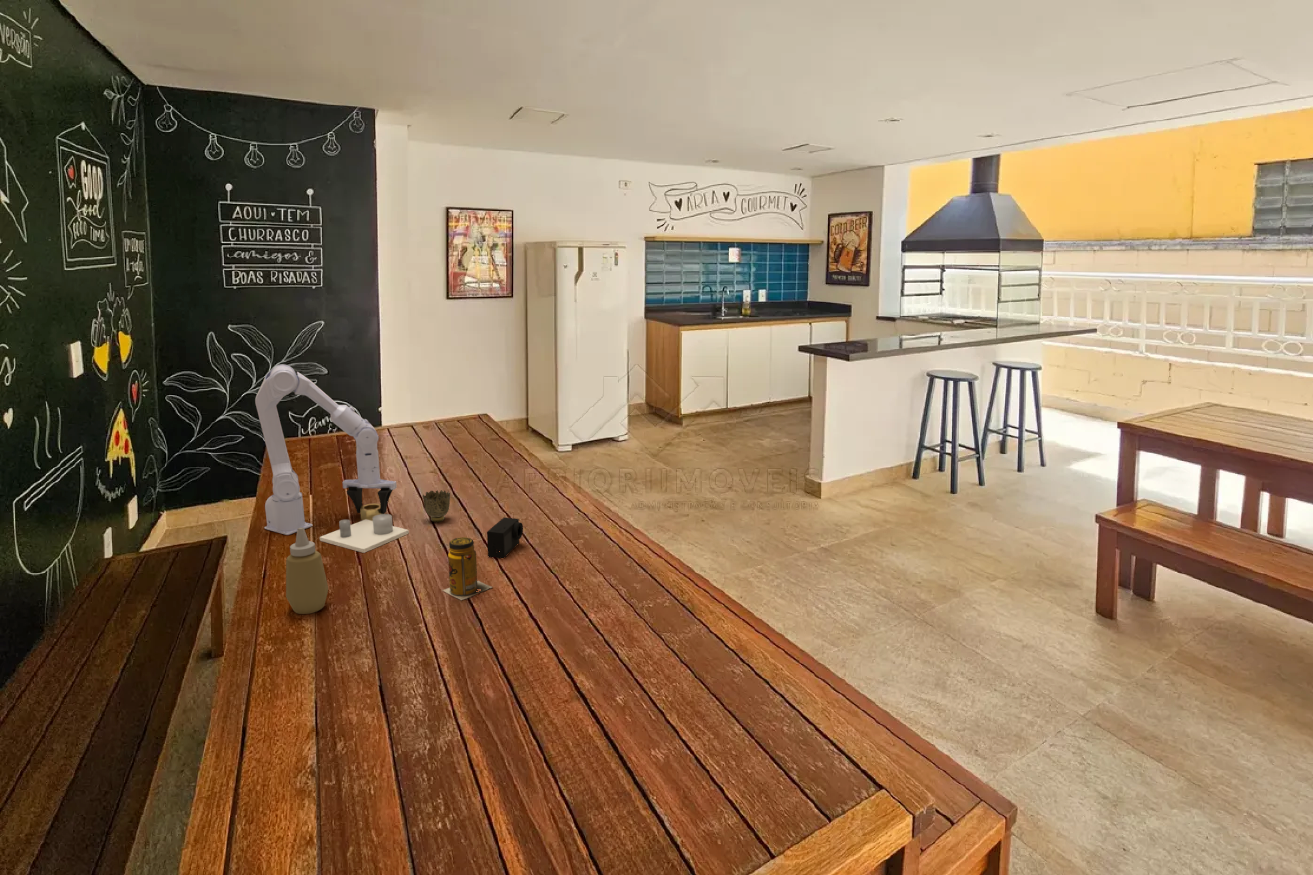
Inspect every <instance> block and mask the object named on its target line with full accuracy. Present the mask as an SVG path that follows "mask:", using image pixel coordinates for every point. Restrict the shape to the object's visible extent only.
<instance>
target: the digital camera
mask: <svg viewBox="0 0 1313 875" xmlns="http://www.w3.org/2000/svg"><path fill="white" fill-rule="evenodd" d="M519 521H520V519H519V518H513V517H503V518H502V519H500V520H499V521H498V522H497V523H496V524H494V525H492V527H491V528H490V529H488V530H487V531H486V540H487V542H486V543H487V544H486V545H487V557H488V556H489V557H488V558H492V557H496V558H495V559H501V558H504V557H505V558H506V557H507V556H508V555H509V554H510V553H511V552H512V551H513V550H514V549H515V548H516V547H517V546H518V545H519V544H520V540H521V539H522V536H523V534H524V532H523V531H524V526H523V522H519ZM517 544H518V545H517ZM516 545H517V546H516ZM515 546H516V547H515ZM514 547H515V548H514ZM513 548H514V549H513ZM512 549H513V550H512ZM511 550H512V551H511ZM499 551H500V552H499ZM510 551H511V552H510ZM509 552H510V553H509ZM508 553H509V554H508ZM507 554H508V555H507ZM506 555H507V556H506ZM505 558H504V559H505Z"/></svg>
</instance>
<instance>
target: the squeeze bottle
mask: <svg viewBox="0 0 1313 875" xmlns="http://www.w3.org/2000/svg"><path fill="white" fill-rule="evenodd" d="M289 553H290V554H289V555H288V556H287V557H286V559H285V560H286V561H285V598H286V600H287V601H288V604H289V605H290V606H291V608H292V610H293V612H294V613H296V614H299V615H305V614H306V615H308V614H313V613H316V612H318V611H320V610H322V609H323V608H324V607H325V605H326V604H325V603H326V601H327V600H326V599H327V596H328V592H329V584H328V581H327V576H326V572H325V568H324V563H323V558H322V554H321V553H320V552H319V551H317V550H316V543H315V542H313V541H311V540H309V538H308V536H307V533H306V530H305V529H304V528H302V527H301V528H298V529H297V532H296V536H295V543H293V544H291V545H289Z"/></svg>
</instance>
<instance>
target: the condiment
mask: <svg viewBox="0 0 1313 875" xmlns="http://www.w3.org/2000/svg"><path fill="white" fill-rule="evenodd" d="M474 544H475V541H474V540H473V538H470V537H467V536H463V537H455V538H453V539H451V540H450V541H449V544H448V546H449V552H448V554H447V561H448V578H449V580H448V582H449V587H447V588H445V589H442V592H445V593H446V594H448V595H450V596H452V597H454V598H456V599H458V600H460V601H462V600H463V601H464V600H466V599H469V598H471V597H474V596H476V595H479V593H483V592H485V591H487V590H489V589H492V588H493V586H491V585H489V584H486V583H484V582H482V581H480V580H478V568H477V567H478V566H477V552H476V550H475V545H474ZM477 580H478V581H477ZM477 589H481V591H479V592H476V591H478V590H477Z"/></svg>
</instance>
